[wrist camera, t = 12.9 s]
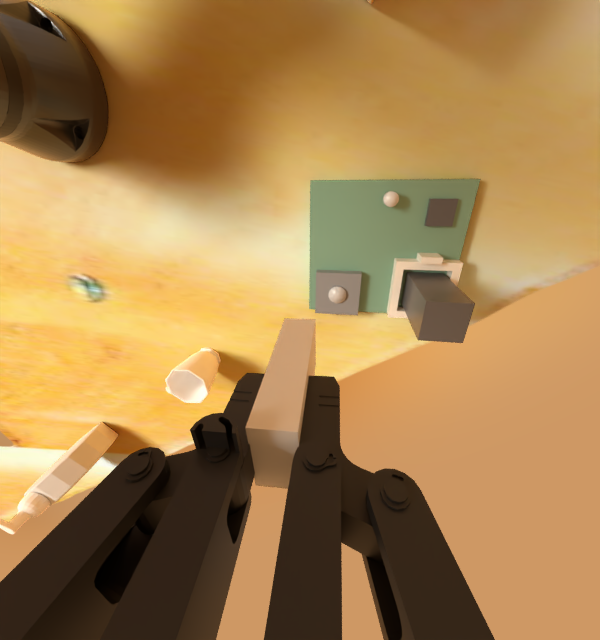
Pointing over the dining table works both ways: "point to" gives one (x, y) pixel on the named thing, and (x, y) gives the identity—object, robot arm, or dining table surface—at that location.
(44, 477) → the soap bottle
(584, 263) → the dining table surface
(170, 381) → the cup
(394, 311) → the frame
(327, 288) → the grey push button
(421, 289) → the plug
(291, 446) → the robot arm
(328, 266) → the board
